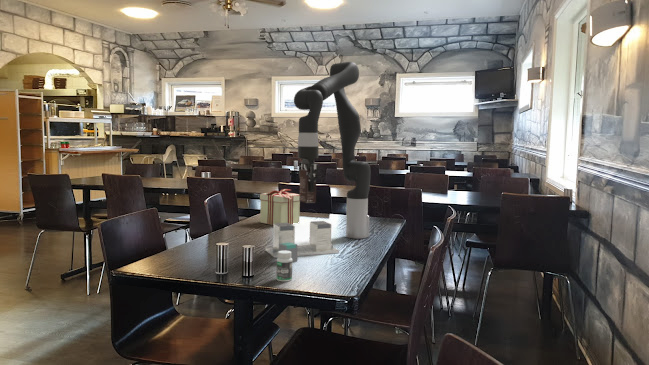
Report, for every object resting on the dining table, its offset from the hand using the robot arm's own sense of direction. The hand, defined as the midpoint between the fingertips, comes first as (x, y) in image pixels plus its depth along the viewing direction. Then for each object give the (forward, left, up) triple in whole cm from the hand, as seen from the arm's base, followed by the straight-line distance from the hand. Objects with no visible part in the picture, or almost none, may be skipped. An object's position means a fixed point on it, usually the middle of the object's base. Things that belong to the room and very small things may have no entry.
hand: (307, 190), depth 177 cm
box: (0, 0, -4) cm, 4 cm away
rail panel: (+1, -2, -23) cm, 23 cm away
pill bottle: (+19, +31, -23) cm, 43 cm away
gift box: (-11, -66, -23) cm, 71 cm away
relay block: (+11, +10, -23) cm, 27 cm away
